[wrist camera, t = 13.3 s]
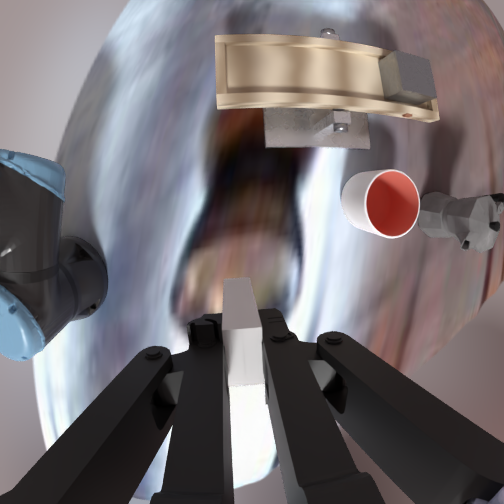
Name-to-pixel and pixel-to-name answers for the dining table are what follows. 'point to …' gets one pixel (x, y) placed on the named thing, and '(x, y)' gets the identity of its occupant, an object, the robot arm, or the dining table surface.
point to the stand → (315, 125)
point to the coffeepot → (462, 219)
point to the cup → (381, 202)
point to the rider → (406, 78)
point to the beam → (306, 76)
